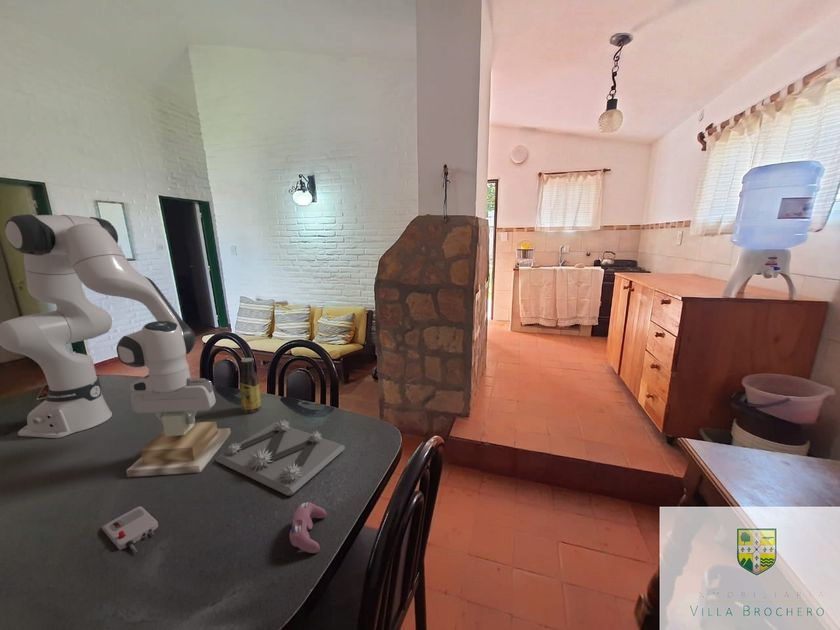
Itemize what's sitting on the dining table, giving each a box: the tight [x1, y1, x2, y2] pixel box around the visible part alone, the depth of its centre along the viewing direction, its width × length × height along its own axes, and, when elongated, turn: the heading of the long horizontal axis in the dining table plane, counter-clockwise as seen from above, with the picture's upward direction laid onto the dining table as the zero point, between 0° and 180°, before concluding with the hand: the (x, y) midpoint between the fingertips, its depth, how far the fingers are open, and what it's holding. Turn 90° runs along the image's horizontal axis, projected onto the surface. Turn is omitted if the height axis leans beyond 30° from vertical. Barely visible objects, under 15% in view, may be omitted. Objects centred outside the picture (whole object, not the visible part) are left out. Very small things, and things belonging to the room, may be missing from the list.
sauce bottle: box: [238, 357, 262, 414], centre depth 117 cm, size 6×6×20 cm
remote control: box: [101, 505, 159, 553], centre depth 70 cm, size 7×16×3 cm, turn 60°
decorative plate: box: [215, 418, 346, 497], centre depth 94 cm, size 30×22×7 cm
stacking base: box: [125, 421, 231, 478], centre depth 94 cm, size 18×18×6 cm
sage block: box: [161, 411, 195, 436], centre depth 93 cm, size 5×5×6 cm
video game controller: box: [289, 501, 327, 554], centre depth 68 cm, size 10×5×7 cm, turn 7°
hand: (179, 423), depth 93 cm, fingers closed on sage block, 5 cm apart
